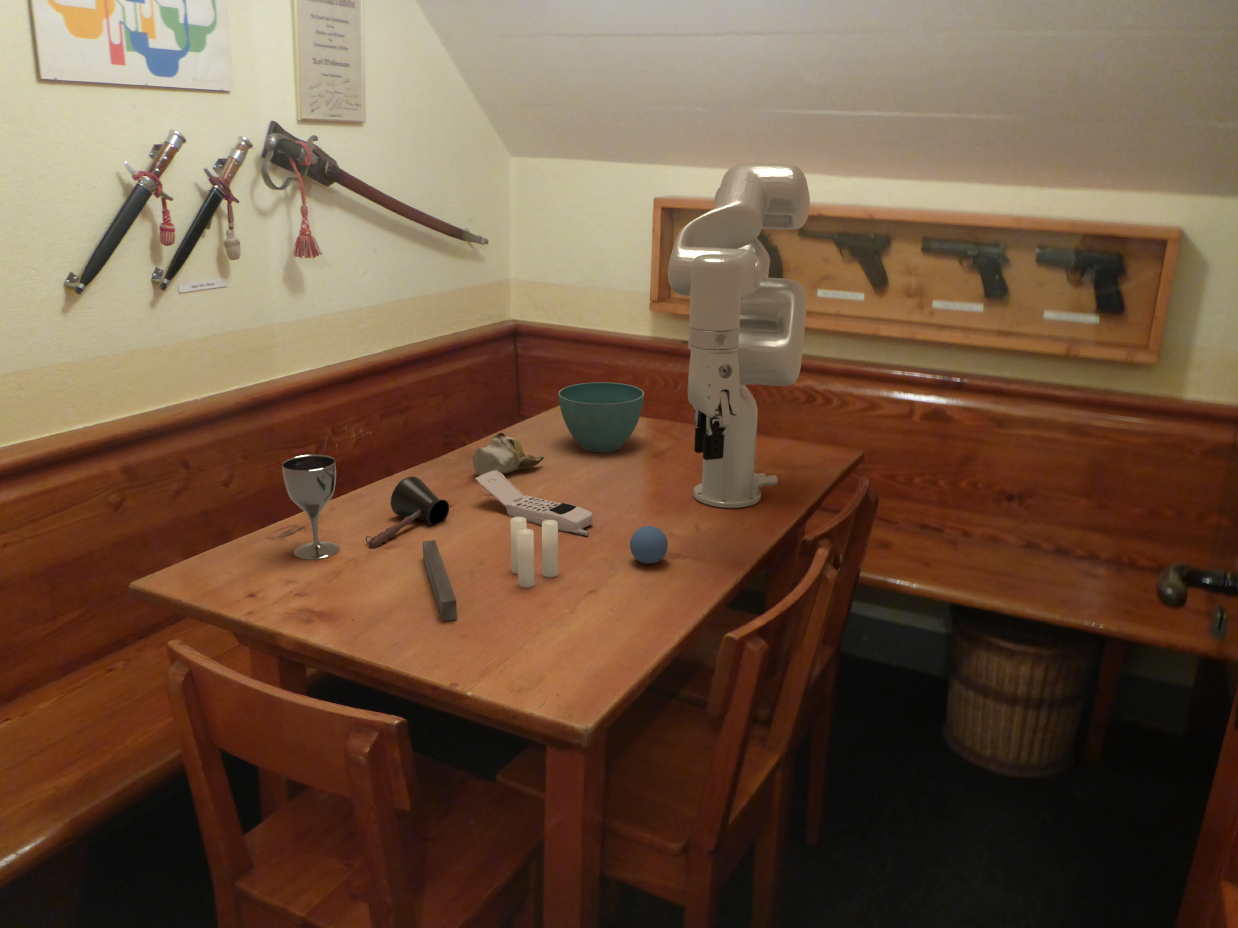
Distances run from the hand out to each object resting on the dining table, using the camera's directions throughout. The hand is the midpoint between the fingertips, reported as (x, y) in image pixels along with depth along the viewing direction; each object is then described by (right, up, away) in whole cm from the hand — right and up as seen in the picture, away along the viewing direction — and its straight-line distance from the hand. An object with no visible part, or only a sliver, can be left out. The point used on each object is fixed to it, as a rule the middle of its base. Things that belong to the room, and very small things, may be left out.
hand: (708, 454), depth 152 cm
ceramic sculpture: (-37, -4, +43) cm, 57 cm away
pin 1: (-29, -18, -1) cm, 34 cm away
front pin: (-25, -18, -2) cm, 31 cm away
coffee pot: (-51, -13, +15) cm, 55 cm away
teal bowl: (-18, +2, +60) cm, 62 cm away
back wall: (-41, -20, -7) cm, 46 cm away
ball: (-9, -14, +2) cm, 17 cm away
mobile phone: (-28, -11, +21) cm, 37 cm away
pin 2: (-28, -20, -5) cm, 34 cm away
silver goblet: (-63, -16, +5) cm, 65 cm away
